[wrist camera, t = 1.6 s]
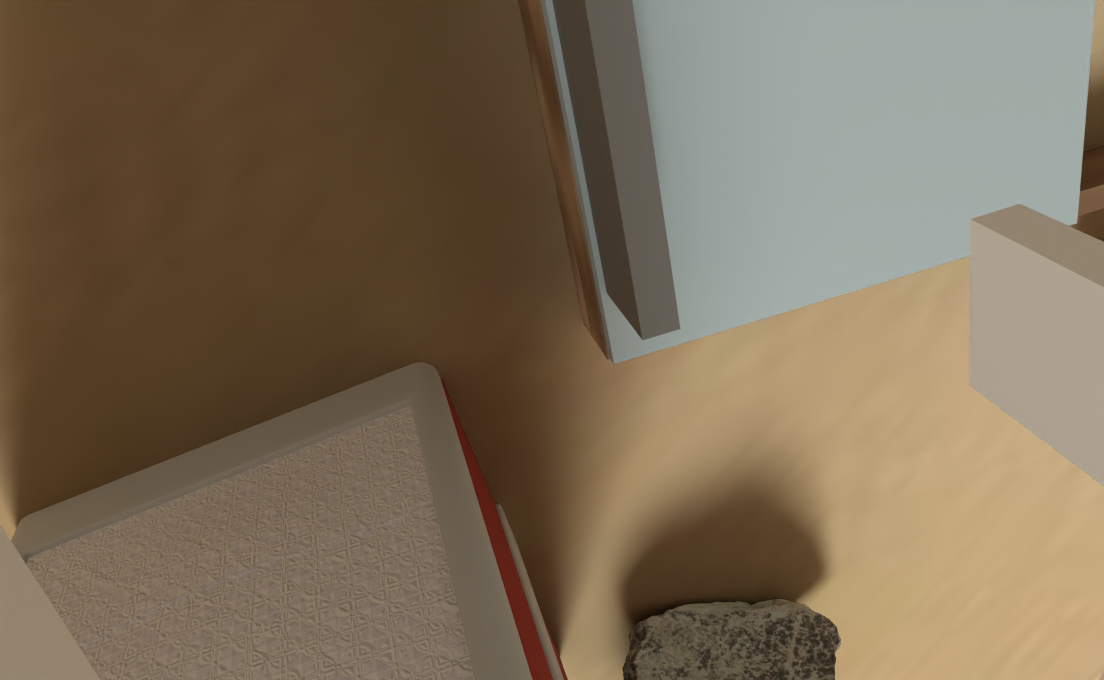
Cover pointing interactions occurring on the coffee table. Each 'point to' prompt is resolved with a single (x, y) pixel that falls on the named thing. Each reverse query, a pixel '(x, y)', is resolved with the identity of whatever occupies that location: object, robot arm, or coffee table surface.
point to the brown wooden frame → (1097, 186)
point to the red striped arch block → (301, 553)
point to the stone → (734, 643)
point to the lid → (804, 145)
